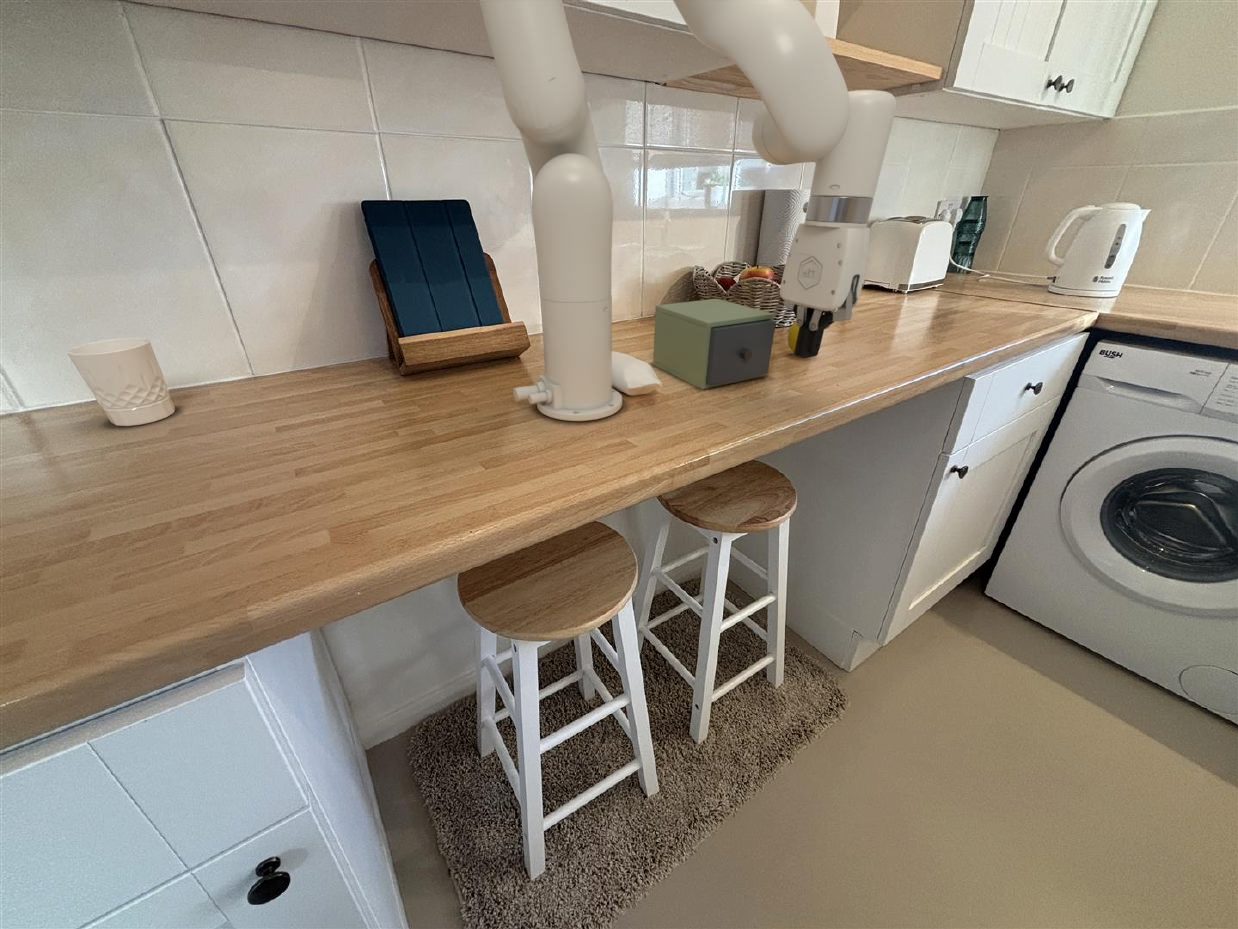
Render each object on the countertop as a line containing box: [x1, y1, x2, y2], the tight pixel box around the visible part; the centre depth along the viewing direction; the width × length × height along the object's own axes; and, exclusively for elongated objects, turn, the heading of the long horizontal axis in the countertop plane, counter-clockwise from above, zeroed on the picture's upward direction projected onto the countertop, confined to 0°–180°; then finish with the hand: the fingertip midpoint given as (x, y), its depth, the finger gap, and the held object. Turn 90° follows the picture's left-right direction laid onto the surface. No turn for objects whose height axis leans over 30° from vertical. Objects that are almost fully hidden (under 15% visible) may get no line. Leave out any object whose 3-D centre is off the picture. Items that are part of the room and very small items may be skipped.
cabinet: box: [652, 298, 775, 390], centre depth 85 cm, size 15×14×11 cm
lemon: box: [787, 320, 801, 358], centre depth 93 cm, size 6×6×8 cm
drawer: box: [706, 319, 777, 386], centre depth 83 cm, size 15×12×9 cm
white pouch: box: [612, 350, 663, 396], centre depth 76 cm, size 6×12×6 cm, turn 35°
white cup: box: [66, 337, 176, 427], centre depth 66 cm, size 8×8×10 cm
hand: (805, 355), depth 71 cm, fingers closed
